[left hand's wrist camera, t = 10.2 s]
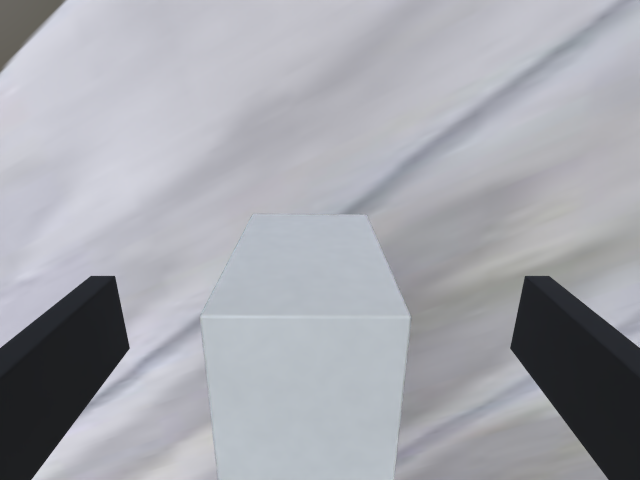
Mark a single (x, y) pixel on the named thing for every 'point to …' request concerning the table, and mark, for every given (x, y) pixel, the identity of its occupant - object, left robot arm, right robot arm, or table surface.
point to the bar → (306, 352)
